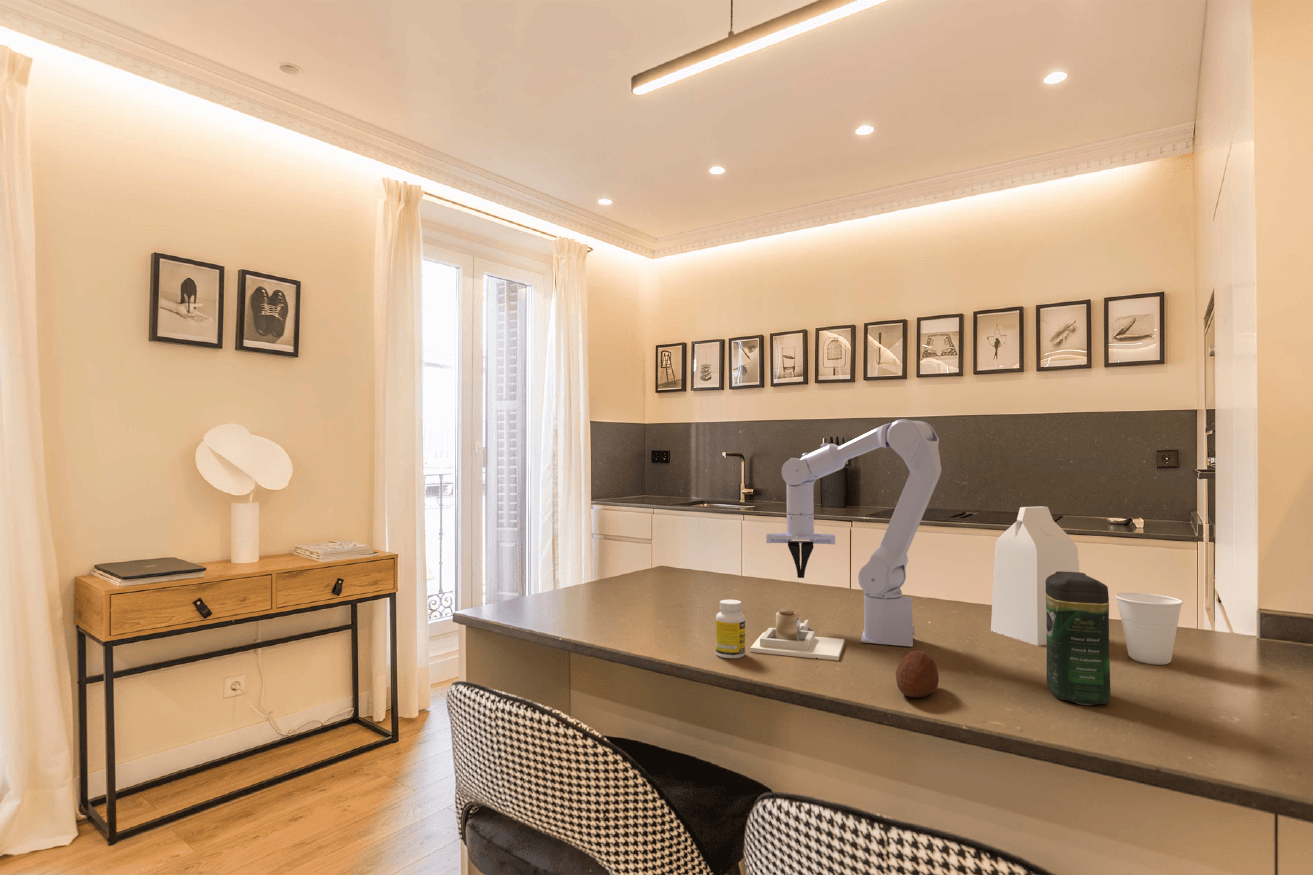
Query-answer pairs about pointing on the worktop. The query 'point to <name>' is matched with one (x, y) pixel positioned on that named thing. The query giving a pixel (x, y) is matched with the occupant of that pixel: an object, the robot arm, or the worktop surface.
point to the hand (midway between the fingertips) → (800, 577)
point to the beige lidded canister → (786, 624)
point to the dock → (799, 645)
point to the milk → (1028, 573)
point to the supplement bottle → (730, 630)
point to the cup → (1149, 625)
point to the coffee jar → (1078, 638)
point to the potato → (917, 674)
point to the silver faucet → (798, 623)
